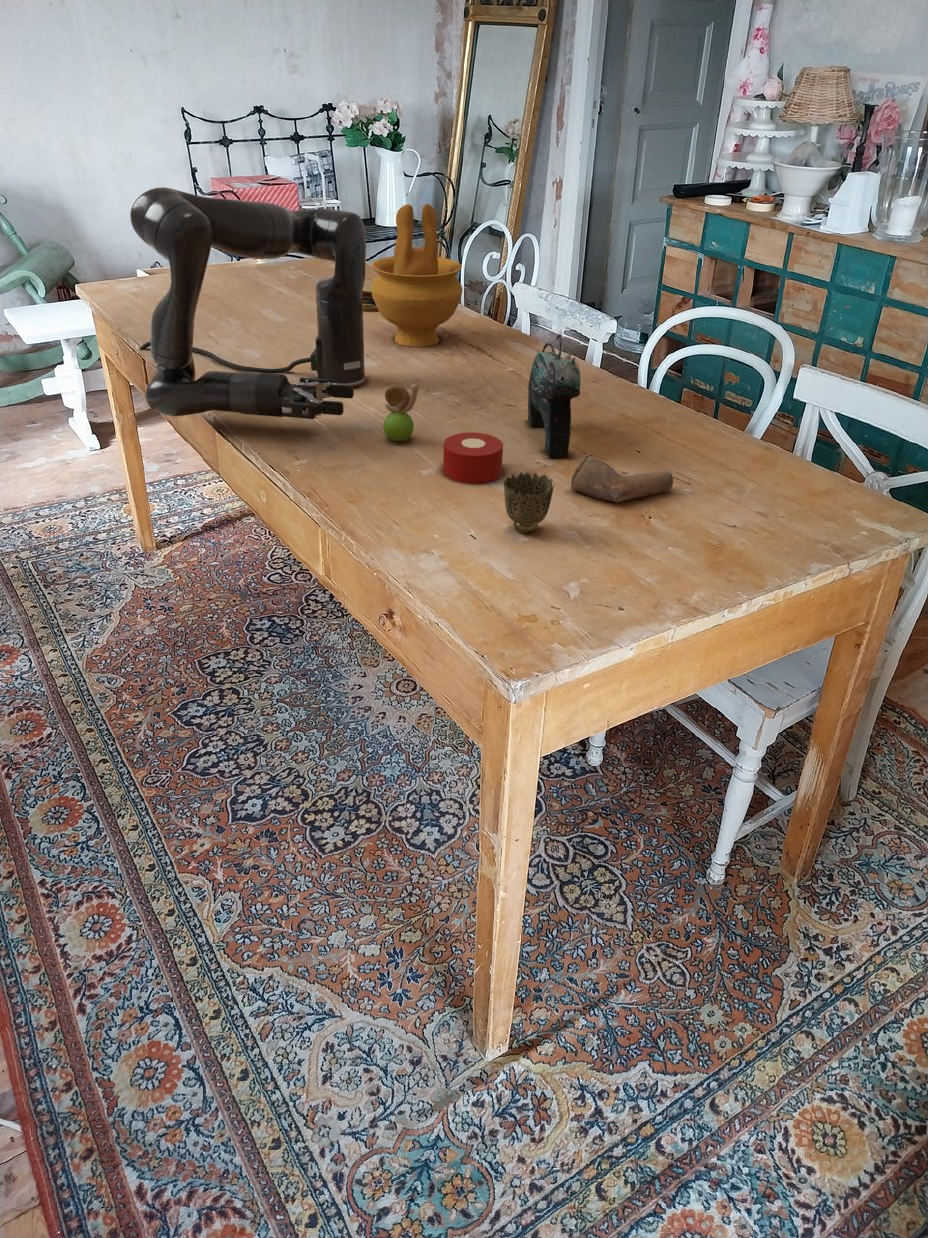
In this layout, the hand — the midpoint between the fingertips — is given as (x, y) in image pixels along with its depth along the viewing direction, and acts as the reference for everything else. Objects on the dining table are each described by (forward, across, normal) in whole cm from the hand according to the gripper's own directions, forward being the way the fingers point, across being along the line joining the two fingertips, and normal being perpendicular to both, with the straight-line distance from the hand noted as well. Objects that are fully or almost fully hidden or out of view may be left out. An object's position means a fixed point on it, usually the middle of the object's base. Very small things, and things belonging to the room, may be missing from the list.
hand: (348, 400), depth 167 cm
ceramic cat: (+36, +5, +7) cm, 37 cm away
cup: (+34, -31, +7) cm, 46 cm away
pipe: (+49, -15, +7) cm, 51 cm away
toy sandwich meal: (-14, +89, +7) cm, 90 cm away
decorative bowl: (+3, +61, +7) cm, 62 cm away
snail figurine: (+10, 0, +7) cm, 12 cm away
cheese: (+24, -11, +7) cm, 27 cm away
